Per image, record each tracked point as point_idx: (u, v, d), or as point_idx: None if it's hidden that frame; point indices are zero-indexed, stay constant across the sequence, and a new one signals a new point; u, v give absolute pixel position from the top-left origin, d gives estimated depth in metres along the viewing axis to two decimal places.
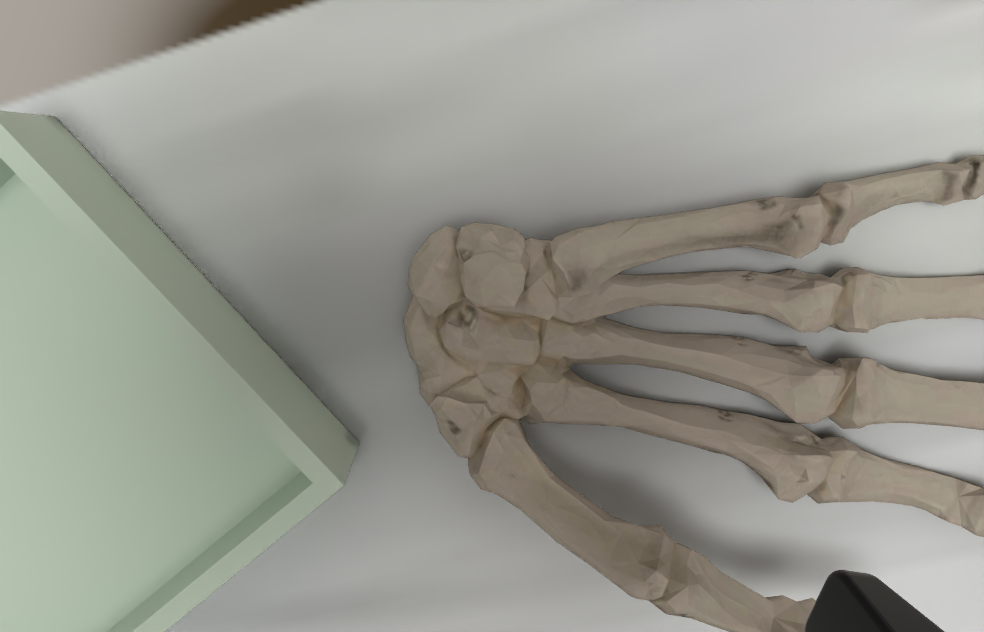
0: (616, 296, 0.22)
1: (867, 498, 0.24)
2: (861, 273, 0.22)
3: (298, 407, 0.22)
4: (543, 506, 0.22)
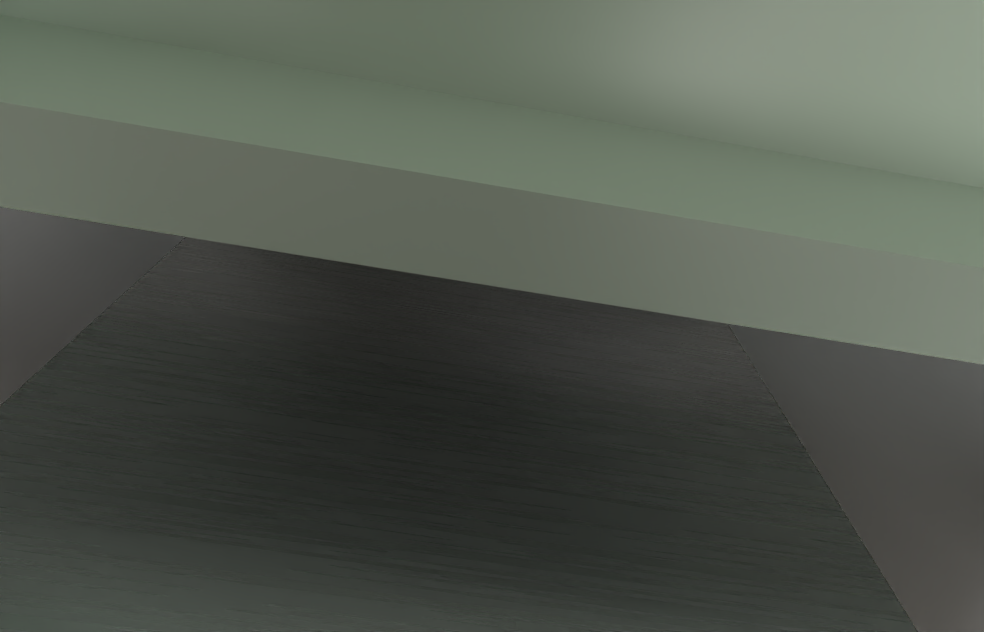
0: None
1: None
2: None
3: None
4: None
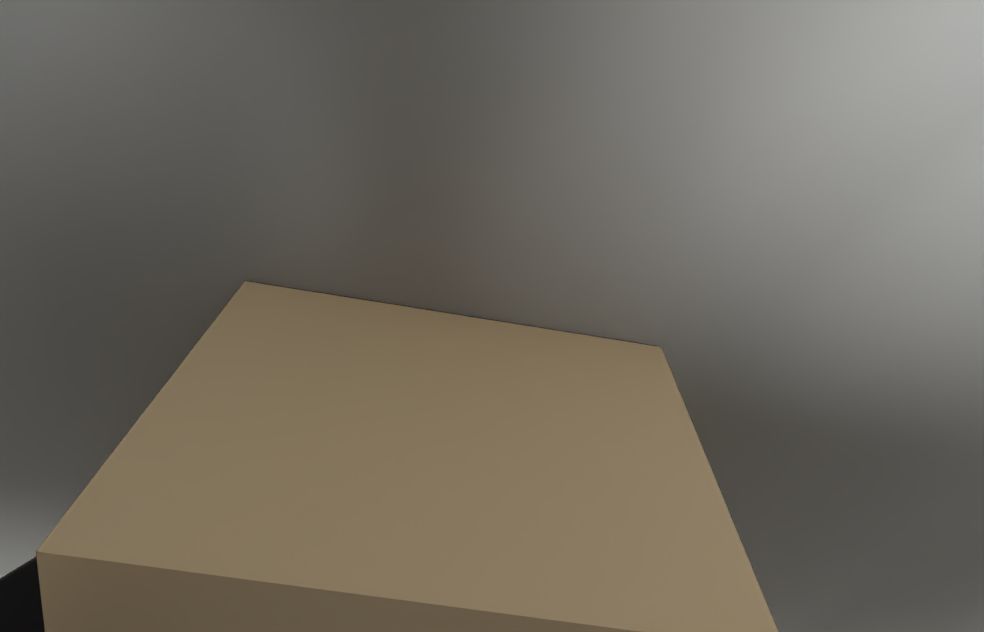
0: None
1: None
2: None
3: None
4: None
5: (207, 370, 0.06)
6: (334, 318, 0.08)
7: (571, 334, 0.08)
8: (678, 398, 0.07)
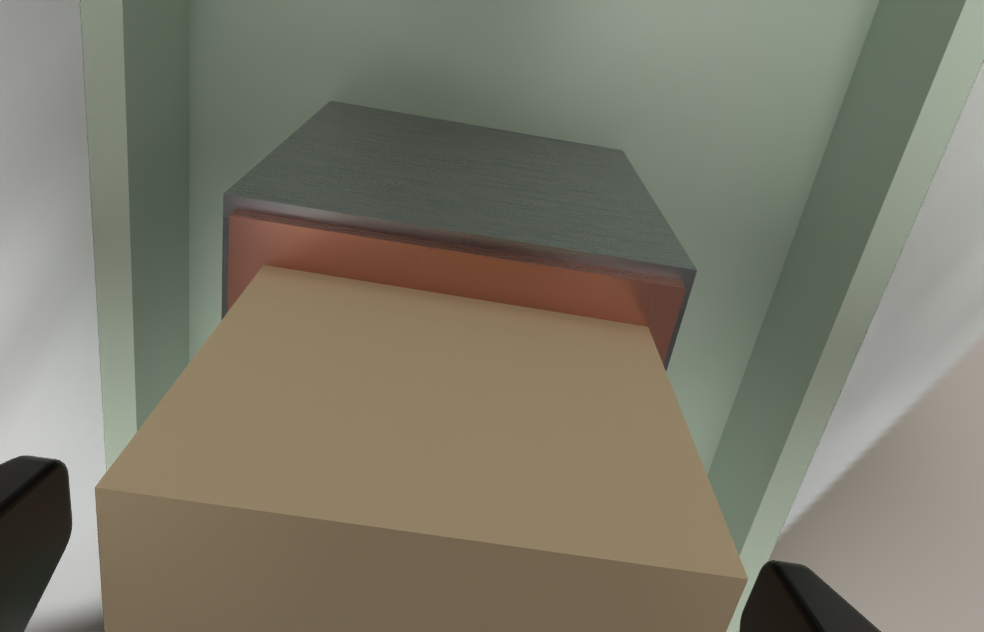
0: None
1: None
2: None
3: None
4: None
5: (233, 341, 0.07)
6: (346, 298, 0.08)
7: (565, 314, 0.09)
8: (662, 371, 0.08)
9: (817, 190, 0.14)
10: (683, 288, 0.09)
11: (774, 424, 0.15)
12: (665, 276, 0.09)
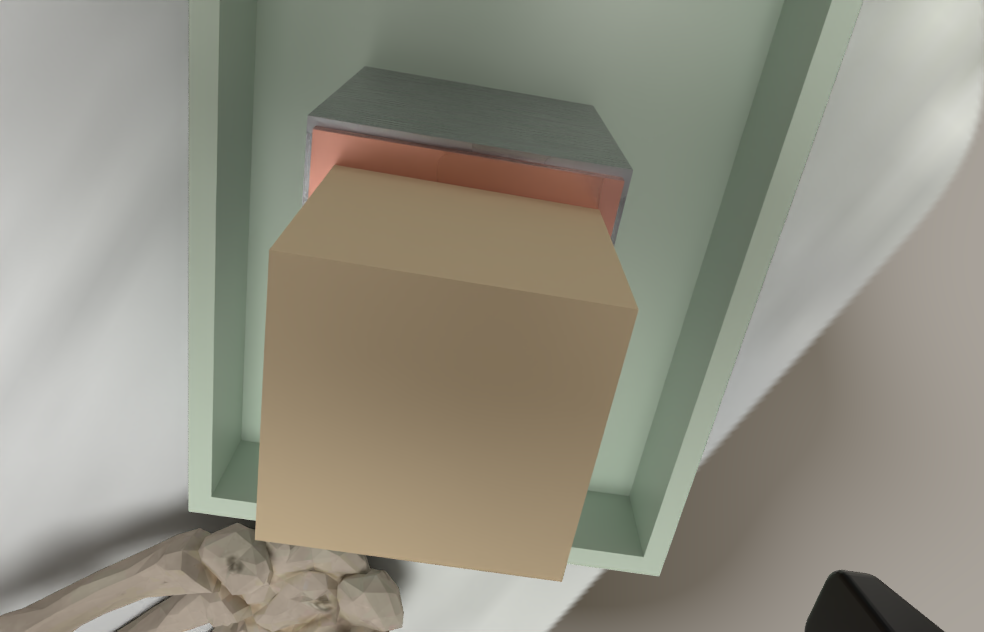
0: None
1: None
2: None
3: None
4: (120, 594, 0.22)
5: (326, 199, 0.11)
6: (393, 184, 0.12)
7: (542, 200, 0.13)
8: (604, 229, 0.12)
9: (745, 136, 0.18)
10: (623, 181, 0.13)
11: (713, 321, 0.19)
12: (611, 175, 0.13)
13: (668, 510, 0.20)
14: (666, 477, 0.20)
